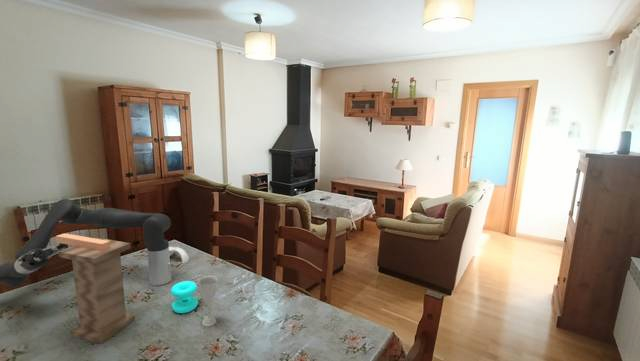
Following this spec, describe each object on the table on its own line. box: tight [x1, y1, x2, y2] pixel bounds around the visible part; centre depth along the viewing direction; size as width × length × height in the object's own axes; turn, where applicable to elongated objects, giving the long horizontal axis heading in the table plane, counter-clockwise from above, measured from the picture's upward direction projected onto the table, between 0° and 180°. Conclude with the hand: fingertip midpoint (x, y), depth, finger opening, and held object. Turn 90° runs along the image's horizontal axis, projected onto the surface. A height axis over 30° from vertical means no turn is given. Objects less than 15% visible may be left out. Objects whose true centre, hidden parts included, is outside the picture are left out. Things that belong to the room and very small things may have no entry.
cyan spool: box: [170, 280, 199, 314], centre depth 128 cm, size 10×10×10 cm
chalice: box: [197, 274, 218, 327], centre depth 119 cm, size 7×7×18 cm
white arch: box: [169, 246, 190, 265], centre depth 174 cm, size 24×12×7 cm, turn 67°
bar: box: [55, 232, 110, 251], centre depth 111 cm, size 22×3×2 cm, turn 74°
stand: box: [57, 237, 136, 345], centre depth 112 cm, size 16×14×32 cm
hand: (54, 246), depth 116 cm, fingers open, 8 cm apart
